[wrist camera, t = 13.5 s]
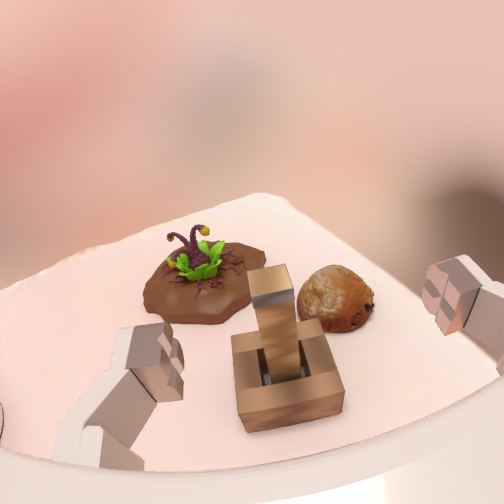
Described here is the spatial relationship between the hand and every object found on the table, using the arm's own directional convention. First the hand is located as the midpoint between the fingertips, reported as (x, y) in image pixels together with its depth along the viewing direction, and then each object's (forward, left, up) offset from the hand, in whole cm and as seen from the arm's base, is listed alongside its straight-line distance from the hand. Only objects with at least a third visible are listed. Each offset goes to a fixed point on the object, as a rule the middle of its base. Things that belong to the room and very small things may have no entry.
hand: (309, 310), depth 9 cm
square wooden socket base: (0, +12, -24) cm, 27 cm away
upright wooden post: (0, +12, -24) cm, 27 cm away
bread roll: (+9, +22, -25) cm, 34 cm away
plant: (-10, +34, -25) cm, 43 cm away
